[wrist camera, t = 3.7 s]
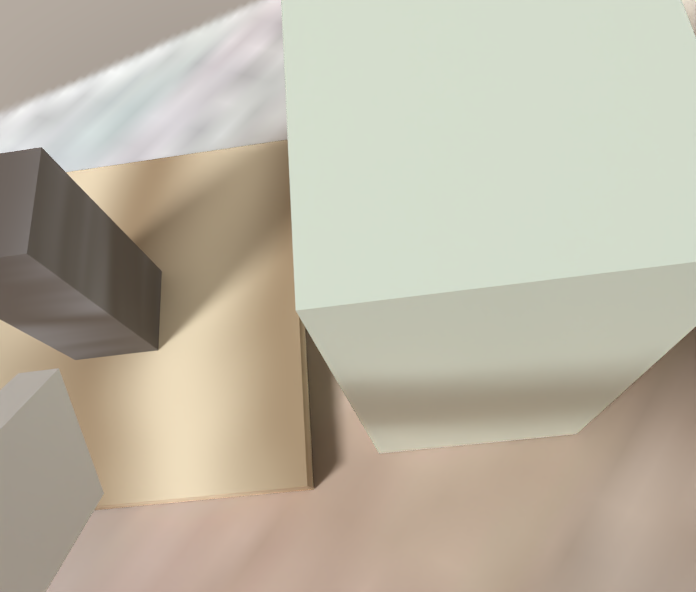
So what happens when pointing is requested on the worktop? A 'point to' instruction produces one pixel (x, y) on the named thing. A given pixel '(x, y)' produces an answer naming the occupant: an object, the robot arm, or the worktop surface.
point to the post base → (163, 317)
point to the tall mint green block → (490, 206)
